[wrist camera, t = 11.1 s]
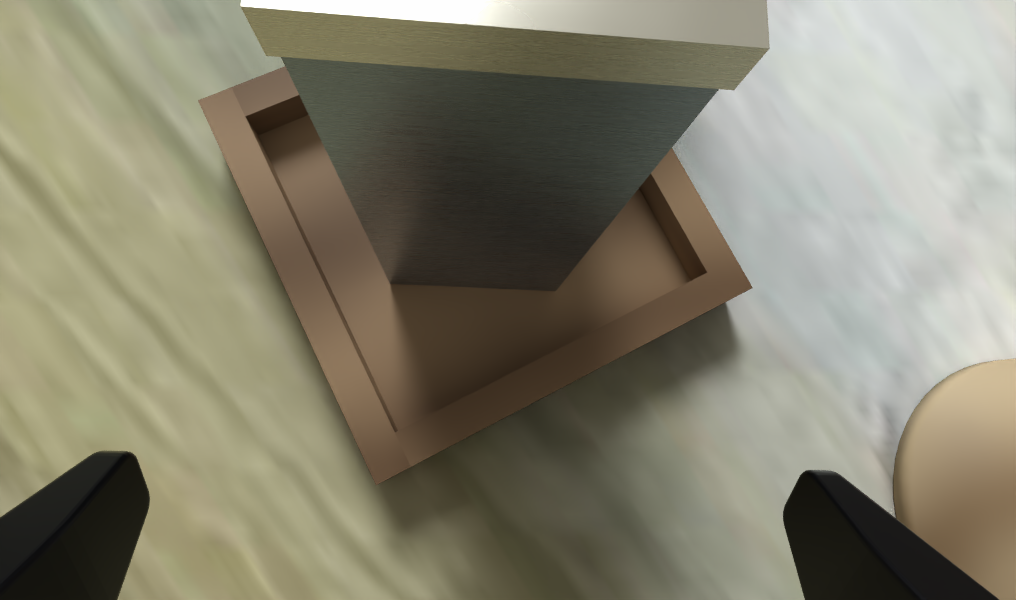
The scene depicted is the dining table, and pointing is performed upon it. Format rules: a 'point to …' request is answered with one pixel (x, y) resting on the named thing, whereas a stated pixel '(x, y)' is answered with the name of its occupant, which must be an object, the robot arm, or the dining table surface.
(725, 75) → the tea tin
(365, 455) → the walnut tray
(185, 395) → the dining table surface
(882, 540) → the robot arm
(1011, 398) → the cork coaster
